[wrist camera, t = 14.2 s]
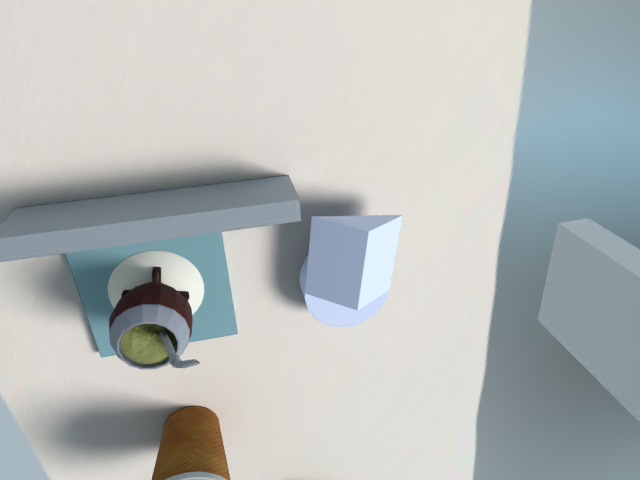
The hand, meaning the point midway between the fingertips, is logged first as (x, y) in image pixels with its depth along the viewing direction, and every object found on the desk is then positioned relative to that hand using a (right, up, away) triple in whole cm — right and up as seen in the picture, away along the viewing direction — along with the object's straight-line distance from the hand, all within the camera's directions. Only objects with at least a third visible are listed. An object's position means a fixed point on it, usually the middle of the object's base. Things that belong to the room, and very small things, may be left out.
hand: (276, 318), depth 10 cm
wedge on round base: (+3, 0, +41) cm, 42 cm away
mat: (-15, -3, +38) cm, 41 cm away
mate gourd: (-15, -3, +37) cm, 40 cm away
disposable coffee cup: (-14, -20, +48) cm, 54 cm away
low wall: (-14, +5, +34) cm, 37 cm away
